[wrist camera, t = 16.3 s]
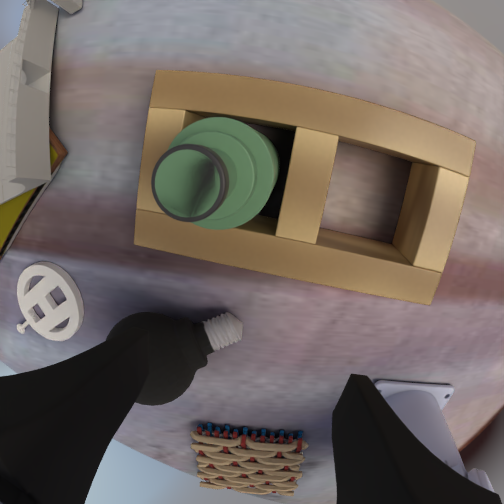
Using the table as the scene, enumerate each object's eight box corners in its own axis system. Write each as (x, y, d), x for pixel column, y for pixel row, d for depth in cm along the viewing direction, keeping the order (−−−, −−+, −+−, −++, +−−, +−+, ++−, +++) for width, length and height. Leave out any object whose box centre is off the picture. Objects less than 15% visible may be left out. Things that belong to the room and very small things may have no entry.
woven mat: (296, 499, 26) (297, 484, 28) (310, 446, 22) (310, 429, 24) (199, 489, 27) (203, 475, 29) (186, 434, 24) (192, 418, 26)
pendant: (45, 247, 21) (51, 244, 22) (-3, 299, 24) (2, 296, 25) (94, 323, 23) (99, 318, 23) (36, 357, 25) (41, 353, 26)
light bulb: (270, 380, 18) (121, 432, 16) (253, 351, 24) (138, 394, 23) (228, 281, 18) (73, 342, 16) (221, 275, 24) (103, 322, 22)
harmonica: (-27, 246, 21) (-14, 238, 23) (-11, 271, 22) (2, 262, 23) (36, 124, 16) (53, 122, 18) (58, 154, 17) (74, 151, 19)
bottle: (272, 208, 19) (251, 274, 9) (201, 194, 19) (113, 243, 9) (286, 135, 18) (281, 117, 8) (213, 123, 18) (127, 99, 8)
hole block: (408, 278, 19) (430, 306, 16) (160, 226, 20) (133, 244, 16) (444, 140, 16) (476, 141, 12) (181, 83, 17) (155, 69, 13)
